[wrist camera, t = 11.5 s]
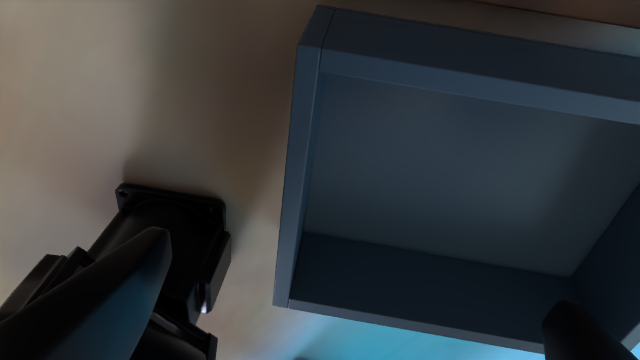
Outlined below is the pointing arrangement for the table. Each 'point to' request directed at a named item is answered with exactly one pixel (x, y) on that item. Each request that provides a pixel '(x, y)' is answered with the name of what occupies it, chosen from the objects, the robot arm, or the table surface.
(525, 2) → the board
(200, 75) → the table surface
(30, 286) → the robot arm
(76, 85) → the table surface
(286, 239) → the tote
